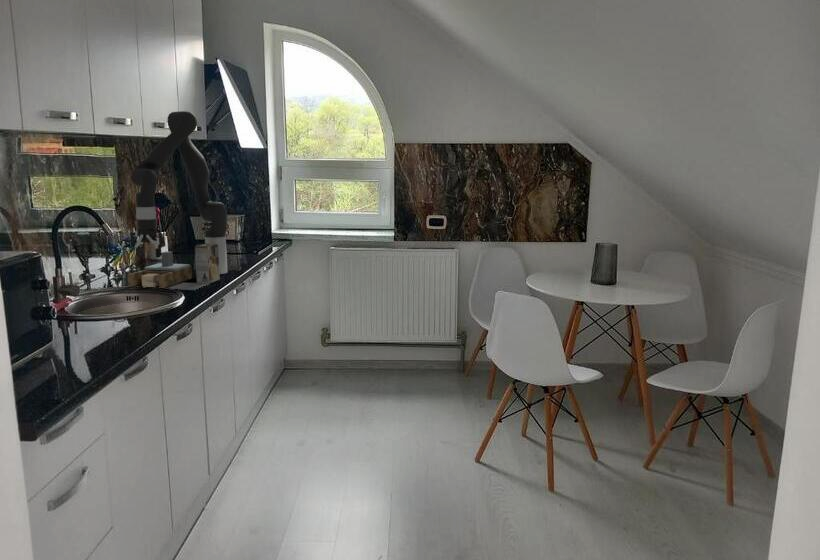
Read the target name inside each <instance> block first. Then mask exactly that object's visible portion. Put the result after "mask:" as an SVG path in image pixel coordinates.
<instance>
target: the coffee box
mask: <svg viewBox="0 0 820 560" xmlns="http://www.w3.org/2000/svg"><path fill="white" fill-rule="evenodd" d="M194 258H195V259H194V260H195V273H196V283H206V284H211V283H214V282H216V281H217V282H218V281H220V280H221V277H220V275H221V274H220V273H219V256H218V244H205V243H204V244H199V245H195V246H194Z"/></svg>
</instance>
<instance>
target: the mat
mask: <svg viewBox="0 0 820 560" xmlns="http://www.w3.org/2000/svg"><path fill="white" fill-rule="evenodd" d="M206 285H207V286H210V283H197V282H181V283H178V284H175V285H172V286H169V287H168V288H170V289H169V290H175V289H178V291H181V290H182V291H197V290H200V289H202V288H204V287H203V286H205V287H207V286H206ZM201 287H202V288H201ZM199 288H200V289H199ZM196 289H197V290H196Z"/></svg>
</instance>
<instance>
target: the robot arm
mask: <svg viewBox="0 0 820 560" xmlns="http://www.w3.org/2000/svg"><path fill="white" fill-rule="evenodd" d="M166 119H167V126H168V129H169V131H170V133H169V134H168V136H166V137H165V138H163V139H162V140H161V141H160V142H158V143H157V144H155V146H153V148H152V149H151V150H150V152H149V154H148V155H147V157H146V158H145V159H143V160H142V161H141V162H140V163H139V164H138V165H136V166H135V167H134V169H133V170H132V171H131V174H130V180H131V182H132V184H133V185H135V186H138V187H141V190H140V192H137V193H136V194H135V204H136V209H135V210H136V211H135V212H136V213H135V217H136V229H137V231H130V246H131V247H134V248H135V255H136V256H137V257H138V258H141V257H142V255H143V253H142V245H143V244H144V243H149V244H152V245H153V247H154V248H155V257H156V258H158V259H159V258H161V253H162V248H164V247H166V237H165V232H163V231H162V232H161V231H160V232H157V228H158V227H157V225H158V224H157V222H158V221H157V211H156V204H155V203H156V202H155V195H156V190H157V185H158V175H157V174H156V172H157V171H160V170H162V168H163V167H164V166H165V164H166V163H167V162H168V160H169V158H170V157H171V156H172V155H173V153H174V152H175V151H176V149H178V151H179V154H180V157H181V160H182V161H183V165H184V167H185V170H186V173H187V176H188V178H189V181H190V183H191V187H192V190H193V193H194V196H195V200H196V203H197V208H198V212H199V215H200V217H201V218H202V219H203V220H204V221H206V222H210V223H211V225H210V227H209V228H208V229H206V230H204V244H218V256H219V273H220V275H223V274H228V272H229V271H228V254H227V253H228V252H227V239H226V237H227V236H226V234H227V229H228V212H227V211H228V210H227V207H226V205H225V204H224V203H223V202H220V201H212V200H211V196H210V193H209V189H208V188H209V182H210V176H211V175H210V170H209V167H208V164H207V161H206V159H205V157H204V155H203V154H202V153H201V152H200V151H199V150H198V149H197V147H196V146H195V144H193V142H192V141H191V138H190V136H191V134H192V133H194V132H195V130H196V128H197V126H198V119H197V117H196V115H195V114H194V113H193V112H191V111H188V110H187V111H172V112H170V113H169V114H168V116H167V118H166Z"/></svg>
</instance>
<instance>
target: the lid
mask: <svg viewBox="0 0 820 560" xmlns="http://www.w3.org/2000/svg"><path fill="white" fill-rule="evenodd" d="M160 258H161V262H158V263H155V264H152V265H148V266H144V270H170V271H178V270H181V269H184V268H187V267H190V266H191V264H190V263H189V264H188V263H187V264H186V263H174V255H173V251H164V252H162V251H161V256H160Z"/></svg>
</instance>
